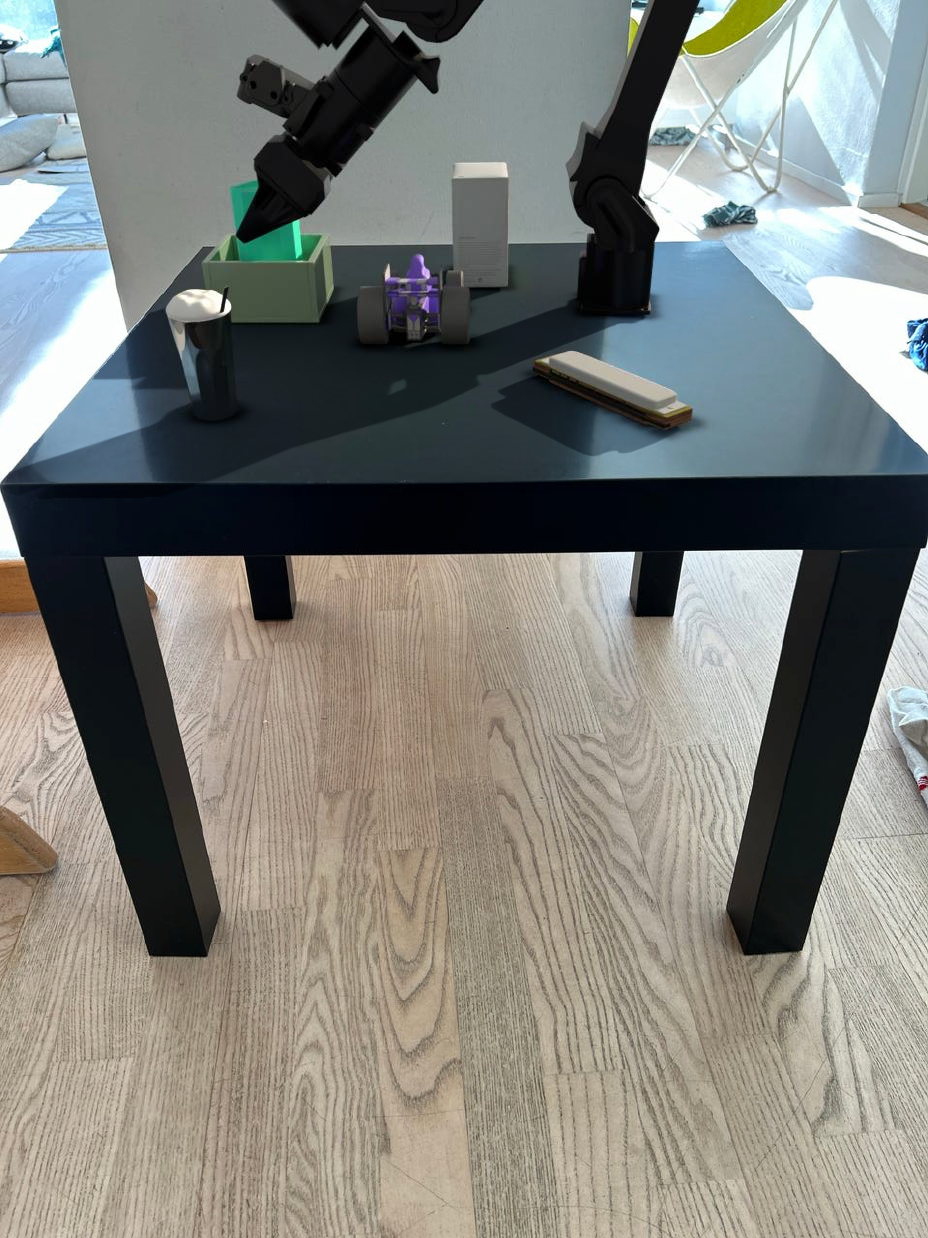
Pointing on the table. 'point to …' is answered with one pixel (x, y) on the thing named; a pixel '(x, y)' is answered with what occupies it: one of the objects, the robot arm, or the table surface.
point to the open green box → (273, 282)
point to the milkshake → (205, 350)
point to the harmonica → (614, 389)
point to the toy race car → (415, 306)
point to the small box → (480, 223)
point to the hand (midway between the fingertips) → (250, 226)
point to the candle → (271, 245)
